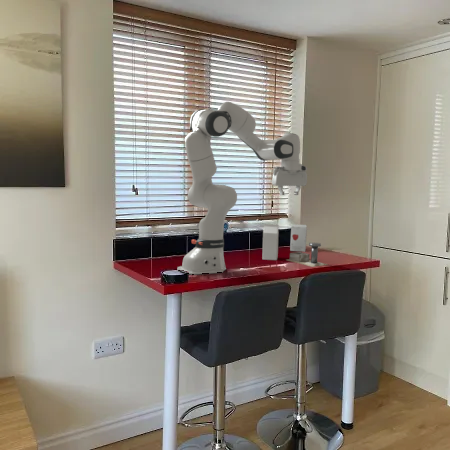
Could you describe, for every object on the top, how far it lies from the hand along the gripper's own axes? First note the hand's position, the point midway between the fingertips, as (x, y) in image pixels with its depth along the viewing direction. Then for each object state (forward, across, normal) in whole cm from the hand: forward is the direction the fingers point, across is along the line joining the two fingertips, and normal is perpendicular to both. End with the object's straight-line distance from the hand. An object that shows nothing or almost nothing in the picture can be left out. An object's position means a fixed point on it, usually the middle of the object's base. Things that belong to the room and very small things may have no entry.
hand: (289, 195), depth 224 cm
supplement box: (+34, +32, +26) cm, 54 cm away
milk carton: (+34, -5, +7) cm, 35 cm away
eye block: (+34, +5, -9) cm, 36 cm away
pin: (+32, +5, -14) cm, 35 cm away
